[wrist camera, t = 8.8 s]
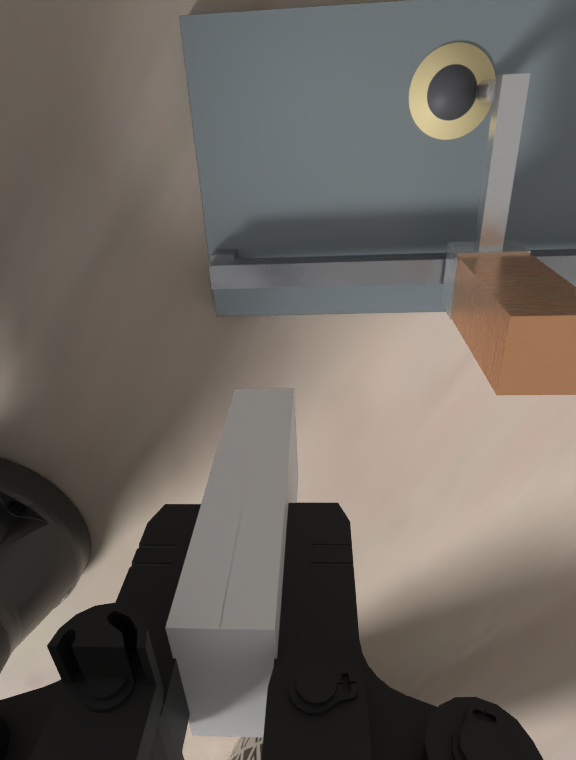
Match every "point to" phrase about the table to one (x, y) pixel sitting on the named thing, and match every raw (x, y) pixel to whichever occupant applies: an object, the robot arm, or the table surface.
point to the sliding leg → (509, 274)
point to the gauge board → (374, 136)
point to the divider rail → (350, 269)
